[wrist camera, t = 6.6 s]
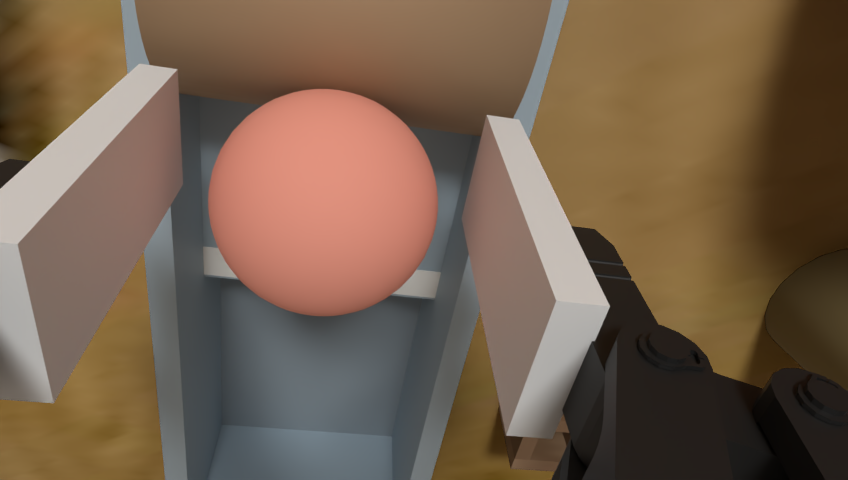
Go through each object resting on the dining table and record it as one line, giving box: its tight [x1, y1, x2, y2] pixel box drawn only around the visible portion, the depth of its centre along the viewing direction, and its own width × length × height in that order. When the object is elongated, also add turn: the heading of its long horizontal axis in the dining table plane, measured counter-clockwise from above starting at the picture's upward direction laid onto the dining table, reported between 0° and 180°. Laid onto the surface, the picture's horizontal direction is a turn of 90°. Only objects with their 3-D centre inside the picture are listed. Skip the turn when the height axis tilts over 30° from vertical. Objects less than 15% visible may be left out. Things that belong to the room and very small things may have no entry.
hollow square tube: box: [499, 406, 571, 471], centre depth 28 cm, size 3×3×4 cm
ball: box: [208, 89, 438, 316], centre depth 14 cm, size 5×5×5 cm
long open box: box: [121, 0, 569, 480], centre depth 21 cm, size 10×27×8 cm, turn 170°
